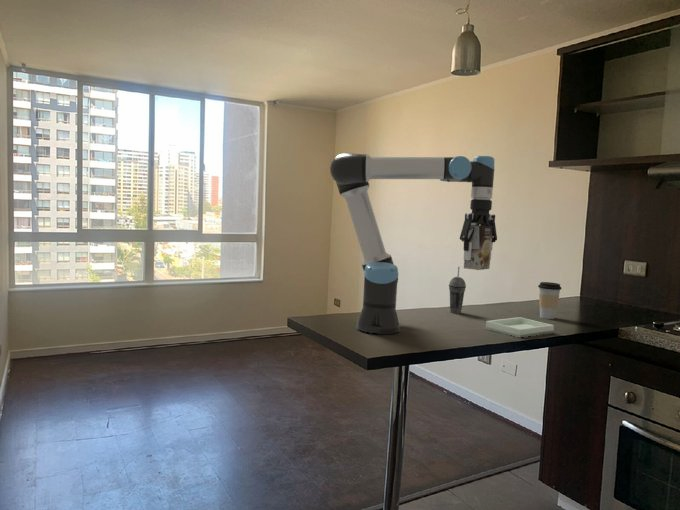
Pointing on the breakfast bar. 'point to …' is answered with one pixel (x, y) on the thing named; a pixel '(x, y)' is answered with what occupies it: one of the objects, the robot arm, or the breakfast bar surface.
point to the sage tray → (519, 327)
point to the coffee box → (480, 248)
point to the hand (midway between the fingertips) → (477, 259)
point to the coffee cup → (548, 299)
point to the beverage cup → (456, 294)
